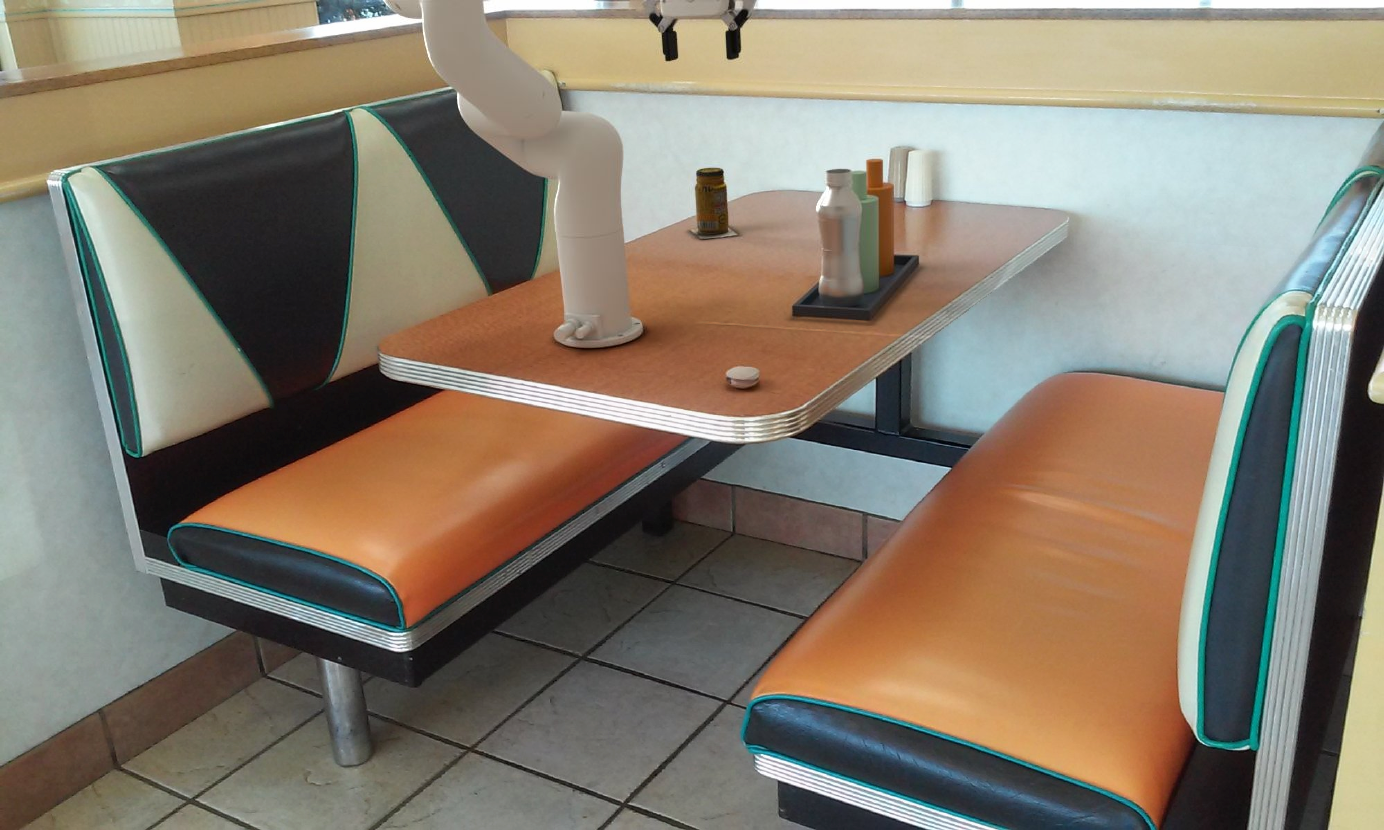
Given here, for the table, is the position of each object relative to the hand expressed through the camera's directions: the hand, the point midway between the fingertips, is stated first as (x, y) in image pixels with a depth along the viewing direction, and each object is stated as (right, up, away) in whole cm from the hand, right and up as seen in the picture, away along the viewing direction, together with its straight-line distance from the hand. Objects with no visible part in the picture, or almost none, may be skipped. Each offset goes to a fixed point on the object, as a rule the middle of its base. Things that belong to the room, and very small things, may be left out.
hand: (702, 59), depth 170 cm
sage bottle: (+24, -32, +12) cm, 42 cm away
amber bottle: (+28, -28, +20) cm, 45 cm away
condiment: (+3, -17, +55) cm, 58 cm away
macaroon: (+5, -48, -22) cm, 53 cm away
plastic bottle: (+21, -36, +4) cm, 41 cm away
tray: (+25, -32, +12) cm, 43 cm away
